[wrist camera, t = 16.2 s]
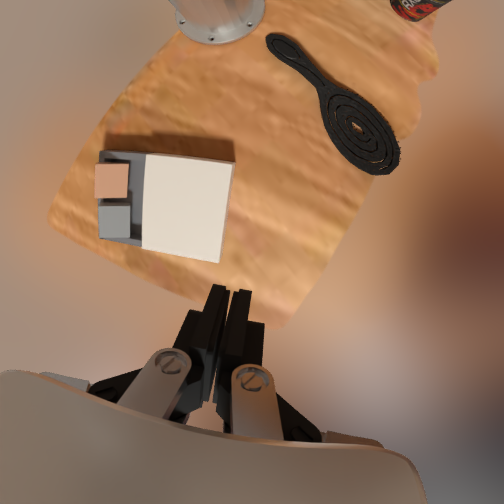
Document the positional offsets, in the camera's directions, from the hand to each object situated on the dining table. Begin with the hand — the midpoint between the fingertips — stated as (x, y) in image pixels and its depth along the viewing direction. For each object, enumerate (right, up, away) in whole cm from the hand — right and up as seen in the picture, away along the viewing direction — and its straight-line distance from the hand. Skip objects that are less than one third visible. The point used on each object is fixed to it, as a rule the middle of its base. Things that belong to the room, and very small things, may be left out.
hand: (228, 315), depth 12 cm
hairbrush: (+12, +24, +21) cm, 34 cm away
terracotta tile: (-19, +13, +24) cm, 33 cm away
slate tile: (-20, +7, +27) cm, 34 cm away
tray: (-18, +12, +28) cm, 36 cm away
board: (-8, +10, +28) cm, 31 cm away
